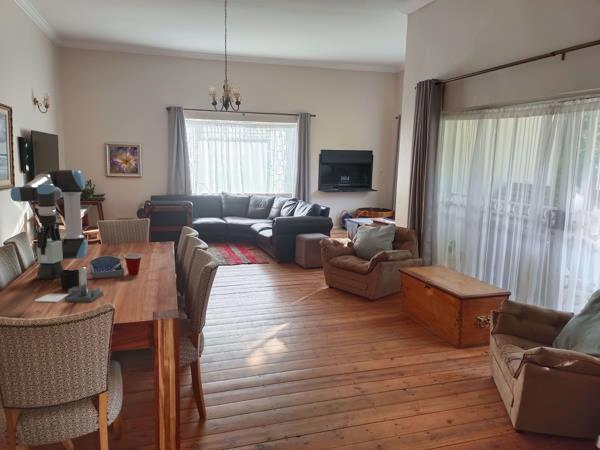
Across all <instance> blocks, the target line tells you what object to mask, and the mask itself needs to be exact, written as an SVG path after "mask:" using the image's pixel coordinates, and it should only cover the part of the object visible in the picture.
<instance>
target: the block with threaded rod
mask: <svg viewBox="0 0 600 450" xmlns="http://www.w3.org/2000/svg"><path fill="white" fill-rule="evenodd" d="M78 270H79V286H80V289H79V288H78V287H72V288H70V289H68V290H67V294H68V295H67V296H65V297H64V299H63V301H65V302H85V303H92V302H94V301H95V300H97V299H98V298H101V297H103V296H104V290H101V289H100V287H96V286H95V287H94V288H92V289H90V290H88V282H87V281H88V279H87V278H88V277H87V267H86V266H81V267H79V269H78Z"/></svg>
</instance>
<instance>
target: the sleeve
mask: <svg viewBox="0 0 600 450" xmlns="http://www.w3.org/2000/svg"><path fill="white" fill-rule="evenodd" d="M43 246H44V245H43ZM46 248H47V254H48V261H42V256H41V249H40V248H37V247H36V253H37V254H36V255H37V263H38V264H39V263H56V262H59V261H61V262H62V261H63V260H64V259H63V252H62V241H47V244H46Z"/></svg>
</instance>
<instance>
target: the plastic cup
mask: <svg viewBox="0 0 600 450" xmlns="http://www.w3.org/2000/svg"><path fill="white" fill-rule="evenodd" d="M123 257H124V260H125V264H126V265H125V266H126V269H127V272H128V275H130V276H131V275H132V276H135V275H138V274H139V272H140V265H141V260H142V257H143V255H142V254H139V253H128V254H127V253H126V254H123Z"/></svg>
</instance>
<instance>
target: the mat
mask: <svg viewBox="0 0 600 450" xmlns="http://www.w3.org/2000/svg"><path fill="white" fill-rule="evenodd" d="M67 295H68V293H48V294H45V295H43V296H41V297H39V298H36V299H35V300H34V302H35V303H37V302H39V303H57V304H58V303H59V302H61V301H64V297H65V296H67Z"/></svg>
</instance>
